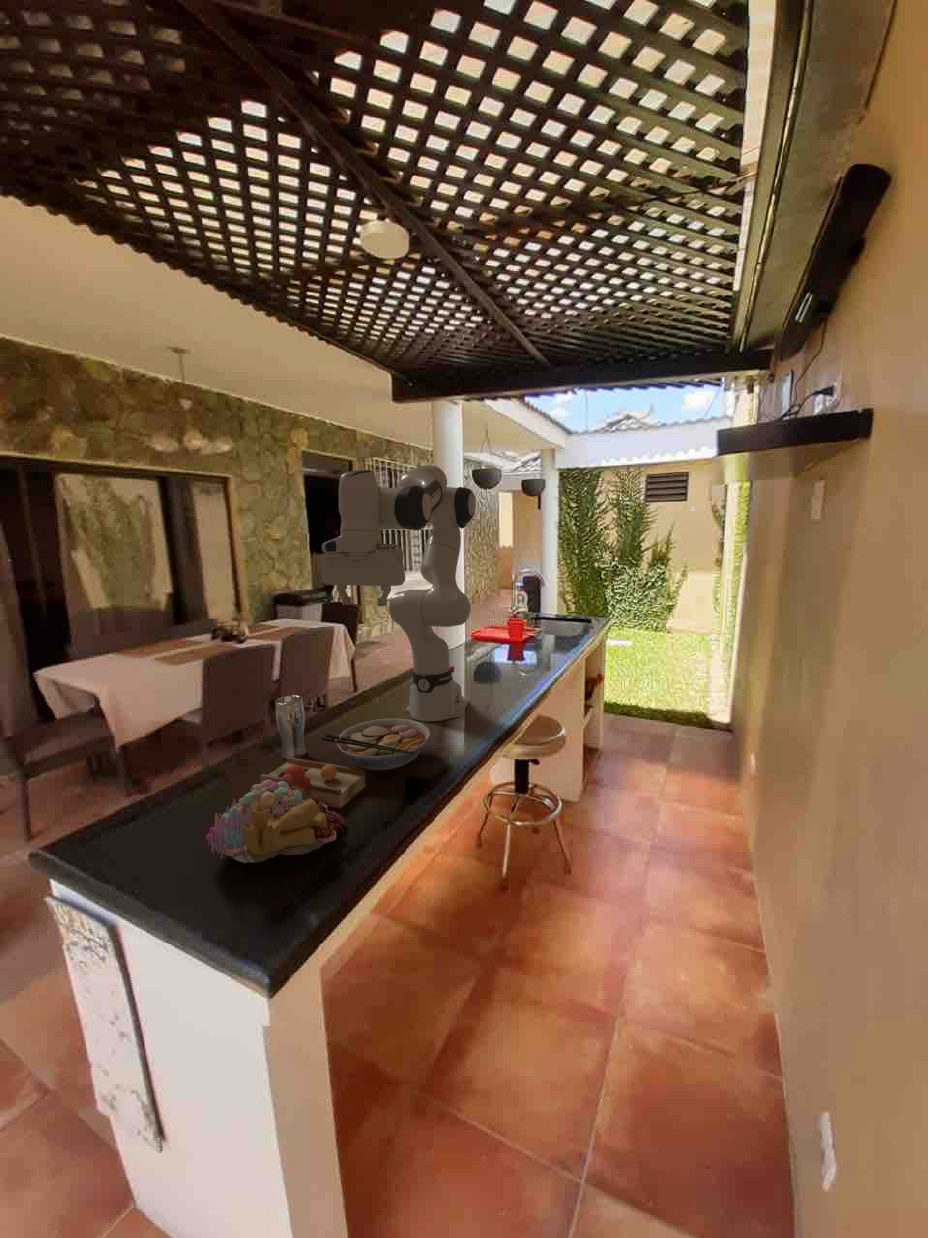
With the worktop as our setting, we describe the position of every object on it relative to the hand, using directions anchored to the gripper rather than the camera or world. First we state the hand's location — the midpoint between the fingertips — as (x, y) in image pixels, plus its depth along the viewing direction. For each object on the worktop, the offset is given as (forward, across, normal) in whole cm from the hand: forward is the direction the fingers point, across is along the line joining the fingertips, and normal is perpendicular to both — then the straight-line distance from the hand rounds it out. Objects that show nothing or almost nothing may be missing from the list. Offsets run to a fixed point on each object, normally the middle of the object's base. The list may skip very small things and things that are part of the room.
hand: (364, 605), depth 111 cm
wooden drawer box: (+40, +8, +12) cm, 43 cm away
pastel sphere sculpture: (+39, +3, +29) cm, 49 cm away
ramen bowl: (+40, -1, -4) cm, 40 cm away
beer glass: (+40, +24, -1) cm, 47 cm away
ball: (+36, +4, +12) cm, 38 cm away
